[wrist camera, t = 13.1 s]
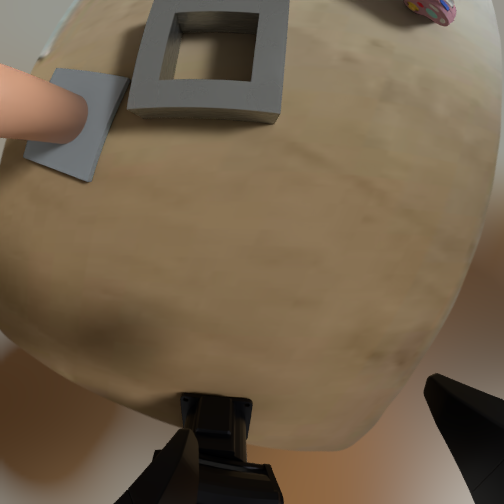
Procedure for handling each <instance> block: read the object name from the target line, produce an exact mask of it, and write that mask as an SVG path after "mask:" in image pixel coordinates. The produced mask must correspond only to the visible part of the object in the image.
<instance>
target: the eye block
mask: <svg viewBox="0 0 504 504" xmlns="http://www.w3.org/2000/svg"><path fill="white" fill-rule="evenodd" d="M288 15H289V0H154V2H153V5H152V8H151V11H150V14H149V17H148V20H147V23H146V26H145V30H144V33H143V37H142V40H141V44H140V48H139V51H138V55H137V59H136V64H135V68H134V73H133V77H132V82H131V87H130V92H129V98H128V104H127V110H129V111H131V112H132V113H134V114H136V115H138V116H139V117H141V118H143V119H151V118H201V119H223V120H237V121H249V122H259V123H268V124H275V122H276V120H277V118H278V117H279V115H280V112H281V100H282V89H283V78H284V66H285V54H286V41H287V28H288ZM186 32H231V33H247V34H257V37H256V45H255V53H254V61H253V70H252V78H251V82H247V81H233V80H211V79H176V80H173V79H174V73H175V68H176V63H177V58H178V53H179V49H180V44H181V40H182V35H183V33H186Z"/></svg>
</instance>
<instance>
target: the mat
mask: <svg viewBox="0 0 504 504" xmlns="http://www.w3.org/2000/svg"><path fill="white" fill-rule="evenodd" d="M130 81H131V80H130V79H129V78H127V77H121V76H116V75H110V74H104V73H97V72H90V71H82V70H73V69H63V68H56V69H55V71H54V73H53V76H52V78H51V80H50V83H52V84H55V85H57V86H59V87H62V88H64V89H66V90H69V91H71V92H73V93H75V94H78V95H80V96H82V97H83V98H84V99H85V101H86V103H87V106H88V116H87V121H86V123H85V126H84V128H83V130H82V131H81V133H80V134H79V135H78V136H77V137H76V138H75V139H74V140H73V141H71V142H69V143H67V144H57V143H49V142H41V141H31V140H28V141H27V144H26V148H25V152H24V155H23V157H24V158H26V159H29V160H31V161H34V162H37V163H39V164H42V165H45V166H47V167H50V168H53V169H55V170H58V171H61V172H63V173H66V174H68V175H71V176H74V177H76V178H79V179H82V180H84V181H87V182H91V181H92V178H93V175H94V171H95V168H96V165H97V162H98V159H99V156H100V153H101V150H102V147H103V145H104V142H105V139H106V136H107V134H108V131H109V129H110V126H111V124H112V121H113V119H114V116H115V114H116V112H117V109H118V107H119V105H120V103H121V100H122V98H123V96H124V94H125V92H126V90H127V88H128V86H129V83H130Z"/></svg>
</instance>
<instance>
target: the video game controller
mask: <svg viewBox="0 0 504 504" xmlns="http://www.w3.org/2000/svg"><path fill="white" fill-rule="evenodd" d="M403 2H404V3H405V4H406V6H407V7H408V8H410V9H411V10H412V11H413V12H415V13H417V14H420V15H424V16H426V17H428V18H429V19H431V20H432V21H434V22H435V23H437V24H439V25H441V26H448V25H449V24H450V23H451V22H453V21H454V18H455V16H456V7H455V5H454V1H453V0H403Z"/></svg>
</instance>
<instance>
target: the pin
mask: <svg viewBox="0 0 504 504" xmlns="http://www.w3.org/2000/svg"><path fill="white" fill-rule="evenodd" d="M87 116H88V106H87V103H86V101H85V99H84V98H83V97H82V96H80V95H78V94H75V93H73V92H71V91H69V90H66V89H64V88H62V87H59V86H57V85H55V84H52V83H50V82H48V81H45V80H43V79H40V78H38V77H35V76H33V75H30V74H28V73H25V72H22V71H20V70H17V69H14V68H12V67H9V66H6V65H3V64H1V63H0V138H10V139H21V140H31V141H41V142H49V143H57V144H67V143H69V142H71V141H73V140H74V139H75V138H76V137H77V136H78V135H79V134H80V133H81V131H82V130H83V128H84V126H85V123H86V121H87Z"/></svg>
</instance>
